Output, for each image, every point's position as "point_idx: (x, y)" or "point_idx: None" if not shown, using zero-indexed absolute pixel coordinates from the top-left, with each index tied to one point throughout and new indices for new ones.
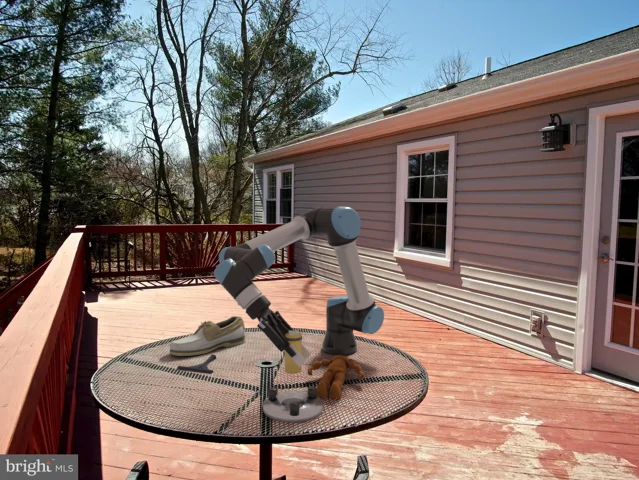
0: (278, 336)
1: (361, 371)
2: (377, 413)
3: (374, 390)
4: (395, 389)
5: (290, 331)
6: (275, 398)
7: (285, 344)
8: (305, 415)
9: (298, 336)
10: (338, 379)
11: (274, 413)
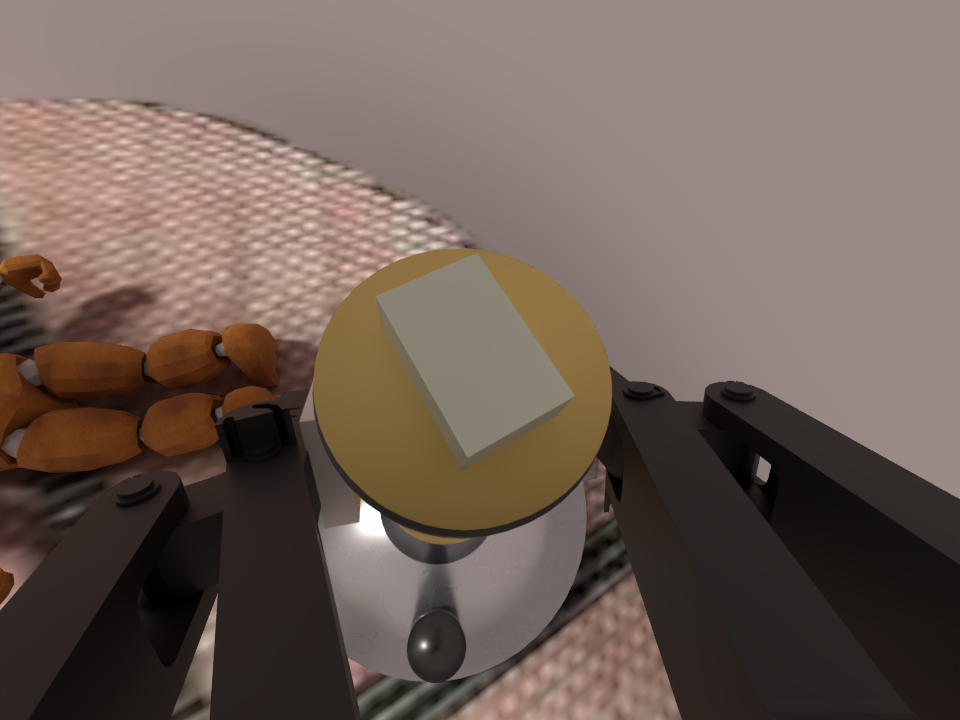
0: (870, 468)
1: (6, 261)
2: (355, 197)
3: (129, 240)
4: (100, 173)
5: (511, 390)
6: (448, 610)
7: (733, 383)
8: None
9: (524, 263)
10: (126, 359)
11: (576, 530)
